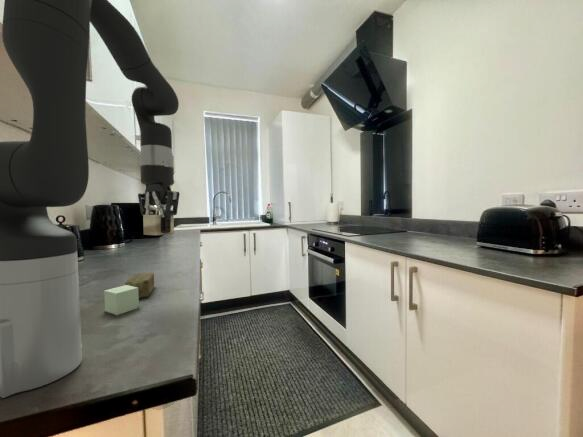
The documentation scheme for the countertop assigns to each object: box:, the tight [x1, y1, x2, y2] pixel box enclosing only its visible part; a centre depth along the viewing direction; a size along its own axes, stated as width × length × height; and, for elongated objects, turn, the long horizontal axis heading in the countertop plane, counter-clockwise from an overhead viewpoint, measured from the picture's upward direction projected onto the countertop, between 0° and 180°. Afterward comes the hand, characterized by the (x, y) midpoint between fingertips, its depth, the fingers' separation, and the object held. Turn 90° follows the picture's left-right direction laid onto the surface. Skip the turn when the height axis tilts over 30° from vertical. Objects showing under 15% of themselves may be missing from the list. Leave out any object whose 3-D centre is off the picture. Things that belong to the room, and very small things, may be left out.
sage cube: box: [103, 284, 140, 316], centre depth 61 cm, size 5×5×5 cm
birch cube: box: [142, 214, 175, 236], centre depth 66 cm, size 5×5×5 cm
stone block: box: [124, 272, 155, 299], centre depth 74 cm, size 6×12×5 cm, turn 21°
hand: (159, 232), depth 66 cm, fingers closed on birch cube, 5 cm apart
